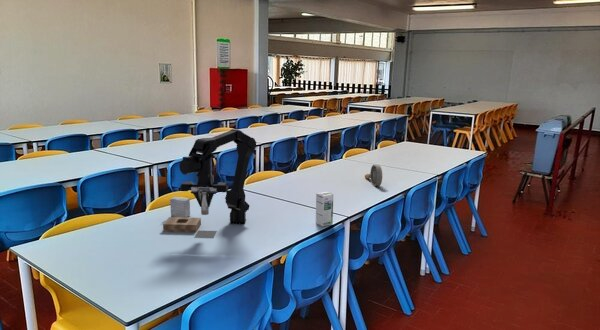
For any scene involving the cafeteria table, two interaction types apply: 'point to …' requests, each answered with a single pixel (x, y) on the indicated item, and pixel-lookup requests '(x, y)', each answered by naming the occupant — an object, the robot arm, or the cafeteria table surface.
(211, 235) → the mat
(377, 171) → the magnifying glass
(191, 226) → the socket block
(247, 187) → the cafeteria table surface
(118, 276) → the cafeteria table surface
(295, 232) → the cafeteria table surface
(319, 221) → the syrup box
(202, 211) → the pin
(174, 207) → the medicine box
